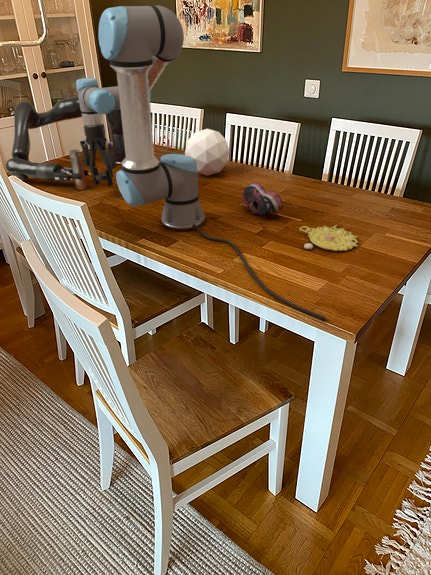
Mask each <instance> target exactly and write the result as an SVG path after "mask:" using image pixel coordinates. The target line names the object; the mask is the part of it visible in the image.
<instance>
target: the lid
mask: <svg viewBox="0 0 431 575" xmlns="http://www.w3.org/2000/svg"><path fill="white" fill-rule="evenodd" d="M95 178H96V180H99V181H101V182H103V181H107V180H106V173H105V171H101V172H98V173H97V174H95Z"/></svg>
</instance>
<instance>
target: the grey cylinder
mask: <svg viewBox="0 0 431 575" xmlns="http://www.w3.org/2000/svg"><path fill="white" fill-rule="evenodd" d="M68 157H69V160H70V161H69V162H70V165H71V166H72V171H73V173H74V174H81V175H82V179H81V180H77V179H73V180H74V185H75V189H76V190H77V191H84V190H87V189H88V185H87V180H86V176H85V174H84V170H85V168H84V164H83V159H82V154H81V153H80V150H79V149H71V150H69V156H68ZM71 166H70V167H71Z"/></svg>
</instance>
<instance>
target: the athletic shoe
mask: <svg viewBox="0 0 431 575" xmlns="http://www.w3.org/2000/svg"><path fill="white" fill-rule="evenodd" d="M241 197H242V199H243V201H238V203H239V204H241V205H245V206H246V207H247V208H248V210H249V211H250V210H251V213H252V214H255V215H260V217H266V216H267V215H270V214H274V213H275V212H279V211H282V210H283V209H284V205H283V201H282V198H281V196H280V195H279V194H278V192H277V191H274V190H269V191H267V190H266V189H265V187H264V186H263V185H262V184H261V183H258V182H251V183H249V184H247V186H246V187H245V188H244V190H243V191H242V192H241Z"/></svg>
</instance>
